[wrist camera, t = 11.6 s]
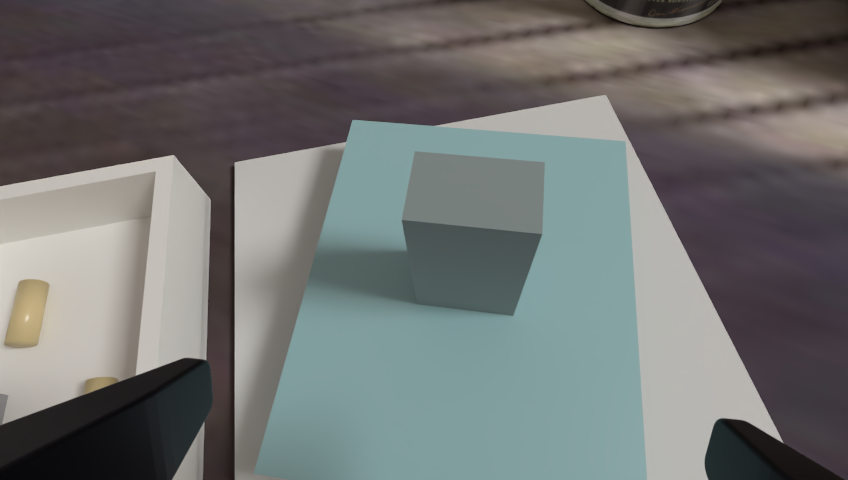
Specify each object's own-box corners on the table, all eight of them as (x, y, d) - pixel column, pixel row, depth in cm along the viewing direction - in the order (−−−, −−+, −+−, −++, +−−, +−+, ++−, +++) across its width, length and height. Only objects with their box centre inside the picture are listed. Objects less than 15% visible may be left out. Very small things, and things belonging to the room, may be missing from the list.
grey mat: (814, 517, 18) (821, 518, 18) (239, 647, 17) (234, 651, 17) (603, 99, 28) (605, 94, 28) (237, 166, 27) (234, 162, 27)
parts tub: (201, 529, 19) (143, 539, 15) (-135, 602, 18) (-275, 628, 15) (210, 200, 26) (173, 155, 23) (-28, 244, 26) (-104, 205, 22)
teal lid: (626, 534, 18) (782, 573, 9) (276, 475, 19) (142, 464, 11) (610, 171, 25) (688, 14, 17) (360, 150, 27) (320, -3, 19)
